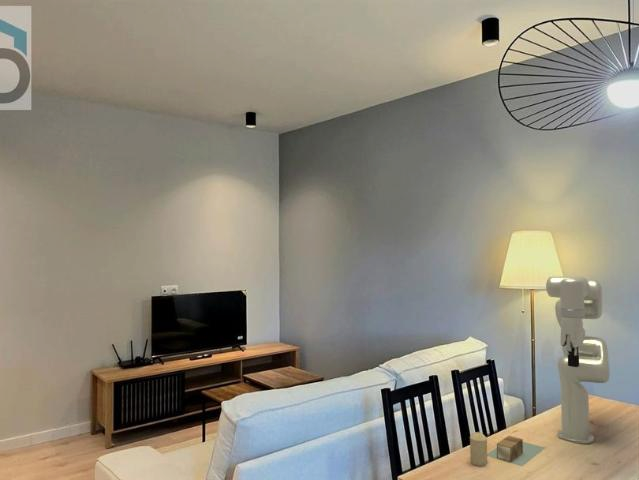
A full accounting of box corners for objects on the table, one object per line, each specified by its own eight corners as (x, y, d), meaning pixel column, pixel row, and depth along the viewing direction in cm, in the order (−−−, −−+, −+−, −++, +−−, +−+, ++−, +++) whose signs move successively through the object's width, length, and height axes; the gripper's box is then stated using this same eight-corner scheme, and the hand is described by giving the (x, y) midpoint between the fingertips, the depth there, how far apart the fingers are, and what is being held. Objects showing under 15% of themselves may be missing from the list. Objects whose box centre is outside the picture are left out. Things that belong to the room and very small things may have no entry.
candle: (488, 466, 165) (487, 437, 165) (471, 465, 166) (470, 435, 166) (486, 460, 170) (485, 431, 171) (469, 458, 172) (469, 430, 172)
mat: (510, 439, 188) (510, 438, 188) (545, 449, 179) (545, 447, 179) (485, 456, 173) (485, 455, 173) (522, 468, 164) (522, 466, 164)
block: (508, 435, 178) (496, 443, 171) (522, 439, 174) (510, 447, 167) (509, 449, 178) (496, 458, 170) (522, 453, 174) (511, 462, 167)
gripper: (568, 310, 180) (569, 361, 179) (553, 315, 169) (554, 368, 169) (590, 312, 175) (591, 364, 174) (577, 316, 164) (578, 372, 164)
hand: (573, 366), depth 172 cm, fingers closed
